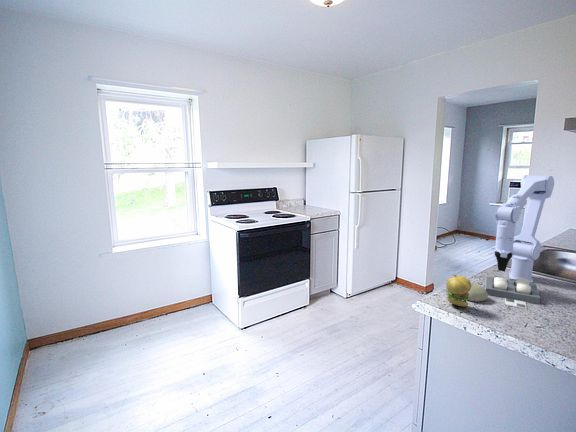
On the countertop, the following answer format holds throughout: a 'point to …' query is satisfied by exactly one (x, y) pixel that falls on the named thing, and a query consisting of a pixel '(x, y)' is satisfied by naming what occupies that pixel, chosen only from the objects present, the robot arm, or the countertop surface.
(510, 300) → the tile
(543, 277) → the countertop surface
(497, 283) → the button
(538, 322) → the countertop surface
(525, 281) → the button
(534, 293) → the board
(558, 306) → the countertop surface
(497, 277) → the button
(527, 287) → the button
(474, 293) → the sea urchin shell
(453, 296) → the hamburger
